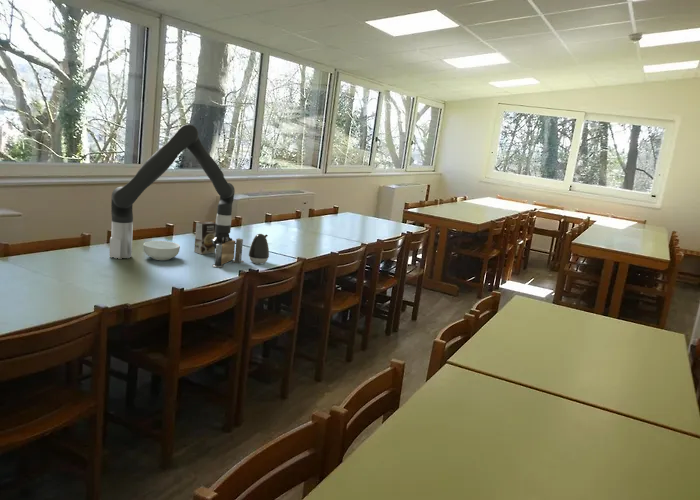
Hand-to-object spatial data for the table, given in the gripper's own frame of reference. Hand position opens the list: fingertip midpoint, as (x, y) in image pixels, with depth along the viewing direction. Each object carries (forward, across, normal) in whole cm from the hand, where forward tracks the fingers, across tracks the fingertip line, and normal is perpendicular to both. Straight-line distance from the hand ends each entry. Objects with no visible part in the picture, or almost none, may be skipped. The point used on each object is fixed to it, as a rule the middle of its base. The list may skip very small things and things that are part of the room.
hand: (220, 256), depth 271 cm
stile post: (+2, -6, +7) cm, 9 cm away
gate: (+1, 0, +4) cm, 5 cm away
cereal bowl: (+3, +21, -19) cm, 28 cm away
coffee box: (+2, -6, -16) cm, 17 cm away
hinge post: (+2, +9, +7) cm, 11 cm away
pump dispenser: (+2, -14, +14) cm, 19 cm away
